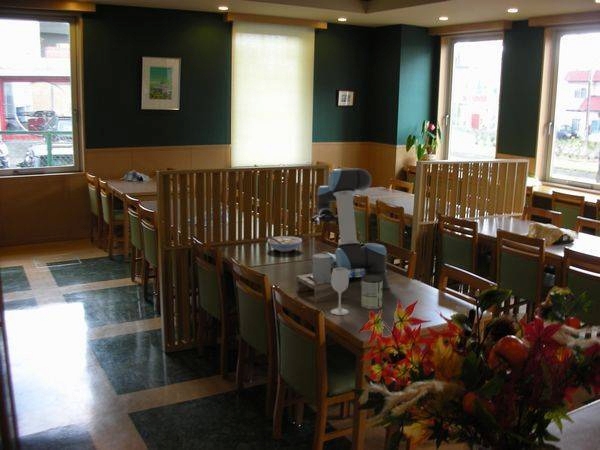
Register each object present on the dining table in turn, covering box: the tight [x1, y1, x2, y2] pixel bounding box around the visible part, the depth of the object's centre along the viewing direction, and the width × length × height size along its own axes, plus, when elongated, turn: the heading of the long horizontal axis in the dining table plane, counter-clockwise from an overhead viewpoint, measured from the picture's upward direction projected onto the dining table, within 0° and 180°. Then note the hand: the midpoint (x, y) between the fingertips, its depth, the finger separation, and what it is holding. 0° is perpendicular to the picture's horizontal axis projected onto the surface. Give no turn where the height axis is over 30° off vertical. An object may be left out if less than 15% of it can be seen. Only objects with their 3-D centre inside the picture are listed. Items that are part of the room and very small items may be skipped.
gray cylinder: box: [312, 252, 332, 282], centre depth 323 cm, size 10×10×12 cm
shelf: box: [295, 273, 349, 303], centre depth 325 cm, size 22×18×8 cm
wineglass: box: [329, 266, 350, 316], centre depth 296 cm, size 9×9×21 cm
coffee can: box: [360, 275, 383, 310], centre depth 306 cm, size 10×10×14 cm
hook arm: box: [310, 276, 331, 284], centre depth 324 cm, size 15×6×2 cm, turn 27°
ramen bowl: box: [266, 235, 303, 253], centre depth 416 cm, size 25×23×8 cm
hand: (331, 222), depth 347 cm, fingers open, 13 cm apart
